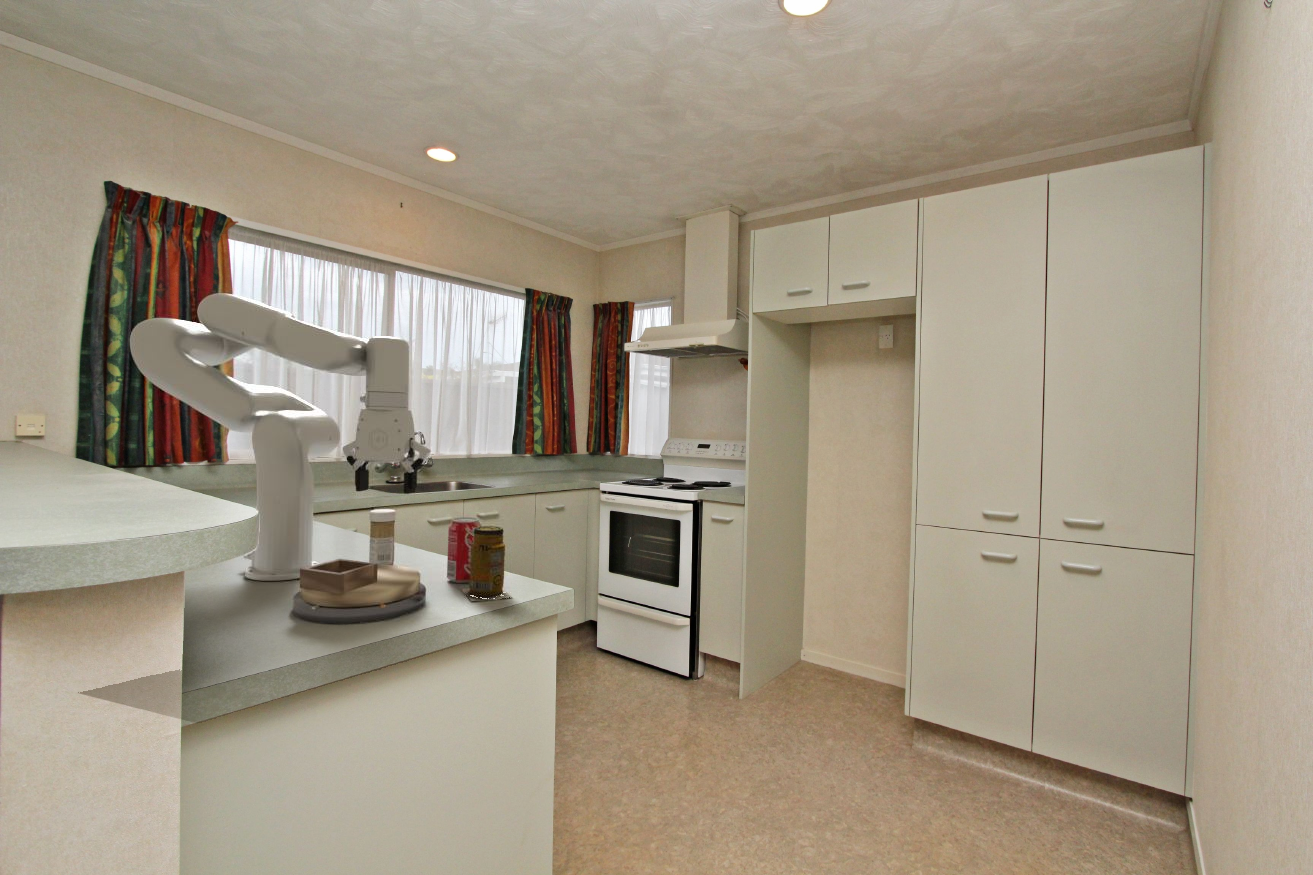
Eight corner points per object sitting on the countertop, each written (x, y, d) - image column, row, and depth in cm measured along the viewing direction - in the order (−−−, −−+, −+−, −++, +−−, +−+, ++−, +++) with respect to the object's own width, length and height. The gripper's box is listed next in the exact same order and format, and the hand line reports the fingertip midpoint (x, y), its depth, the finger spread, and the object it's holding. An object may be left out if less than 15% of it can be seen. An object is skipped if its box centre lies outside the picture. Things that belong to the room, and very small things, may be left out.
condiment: (500, 586, 117) (503, 524, 117) (512, 598, 110) (515, 532, 110) (461, 589, 114) (463, 525, 114) (470, 602, 107) (473, 534, 106)
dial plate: (262, 613, 96) (262, 598, 96) (358, 582, 115) (359, 570, 115) (366, 631, 90) (366, 616, 90) (449, 595, 110) (450, 583, 110)
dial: (359, 572, 114) (360, 544, 114) (441, 583, 109) (442, 554, 109) (273, 597, 97) (274, 565, 97) (366, 613, 92) (367, 578, 92)
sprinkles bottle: (394, 576, 121) (397, 508, 121) (392, 582, 117) (394, 511, 116) (369, 576, 120) (371, 508, 119) (365, 583, 115) (368, 512, 115)
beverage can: (484, 577, 123) (487, 517, 123) (472, 585, 117) (474, 522, 117) (455, 575, 124) (457, 515, 123) (441, 583, 118) (443, 520, 117)
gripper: (332, 400, 115) (331, 492, 115) (420, 403, 112) (418, 496, 113) (356, 402, 122) (355, 487, 122) (439, 404, 120) (437, 491, 120)
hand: (385, 491), depth 118 cm, fingers open, 9 cm apart
